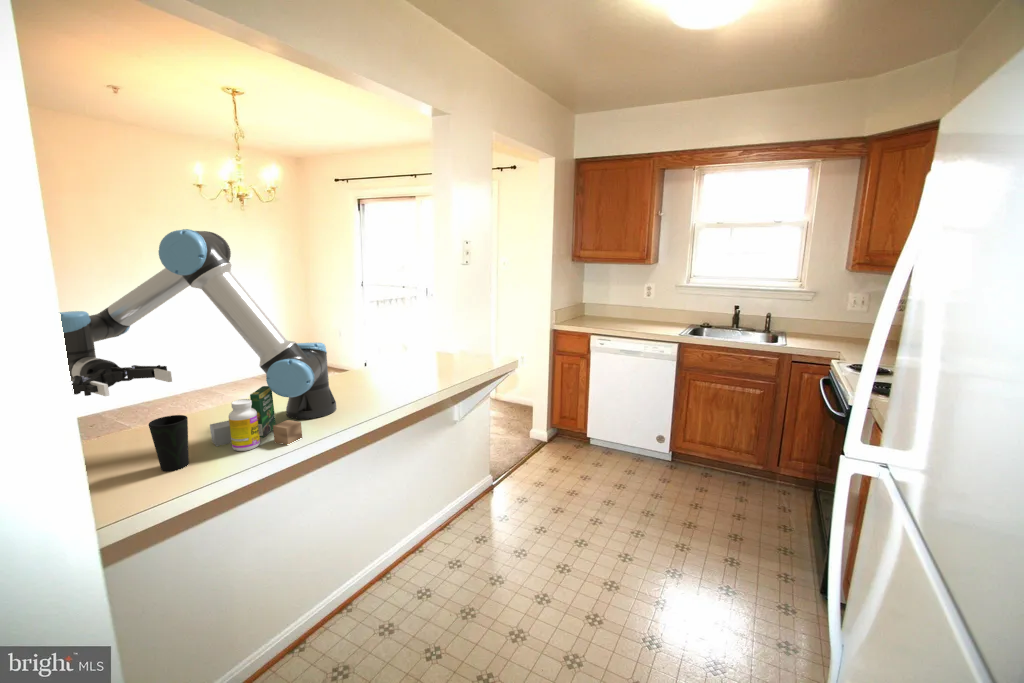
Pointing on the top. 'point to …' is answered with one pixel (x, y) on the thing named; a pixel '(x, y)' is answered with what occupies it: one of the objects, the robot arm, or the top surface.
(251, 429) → the supplement bottle
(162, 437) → the cup
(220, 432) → the grey block
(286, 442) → the walnut block
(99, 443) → the top surface
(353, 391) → the top surface
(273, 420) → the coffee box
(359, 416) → the top surface
